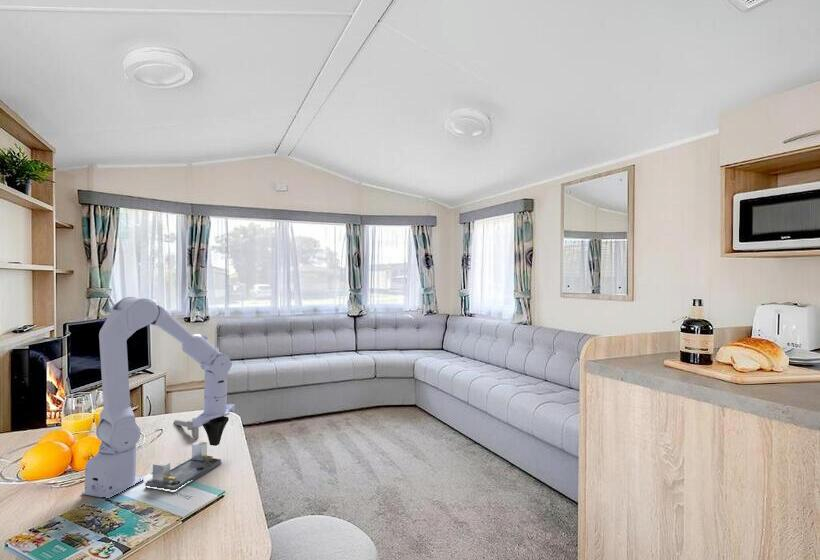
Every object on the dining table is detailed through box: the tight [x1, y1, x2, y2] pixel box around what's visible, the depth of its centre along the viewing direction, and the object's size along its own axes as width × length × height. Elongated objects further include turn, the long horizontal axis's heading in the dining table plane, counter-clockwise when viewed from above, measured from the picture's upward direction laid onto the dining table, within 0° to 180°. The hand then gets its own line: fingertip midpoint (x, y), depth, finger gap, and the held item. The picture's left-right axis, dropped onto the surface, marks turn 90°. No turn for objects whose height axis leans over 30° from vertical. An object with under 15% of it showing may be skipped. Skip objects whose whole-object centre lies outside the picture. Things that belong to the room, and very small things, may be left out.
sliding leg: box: [191, 441, 214, 461], centre depth 114 cm, size 2×5×4 cm, turn 76°
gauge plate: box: [144, 456, 222, 490], centre depth 107 cm, size 16×8×5 cm, turn 166°
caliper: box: [173, 417, 200, 440], centre depth 138 cm, size 20×1×6 cm, turn 45°
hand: (214, 444), depth 120 cm, fingers closed
